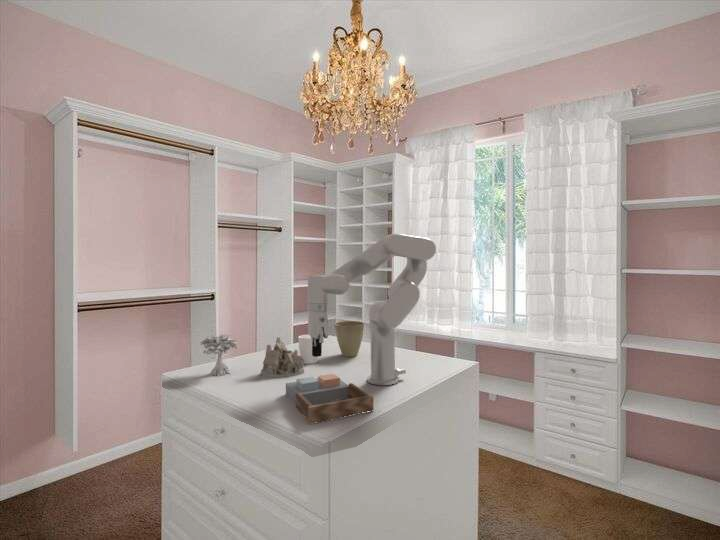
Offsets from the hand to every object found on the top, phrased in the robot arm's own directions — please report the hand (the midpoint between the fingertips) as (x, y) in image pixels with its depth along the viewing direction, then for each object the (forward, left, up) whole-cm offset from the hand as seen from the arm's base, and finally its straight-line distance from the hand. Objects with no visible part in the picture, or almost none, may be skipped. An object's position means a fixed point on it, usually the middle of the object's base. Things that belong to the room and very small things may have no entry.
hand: (316, 355), depth 154 cm
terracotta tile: (-1, +10, -8) cm, 13 cm away
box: (+3, +24, -12) cm, 27 cm away
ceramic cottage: (+7, -24, -12) cm, 28 cm away
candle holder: (-10, -37, -12) cm, 40 cm away
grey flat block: (+3, +9, -12) cm, 15 cm away
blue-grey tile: (+7, +10, -8) cm, 15 cm away
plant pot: (-32, -39, -12) cm, 52 cm away
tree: (+30, -37, -12) cm, 49 cm away
